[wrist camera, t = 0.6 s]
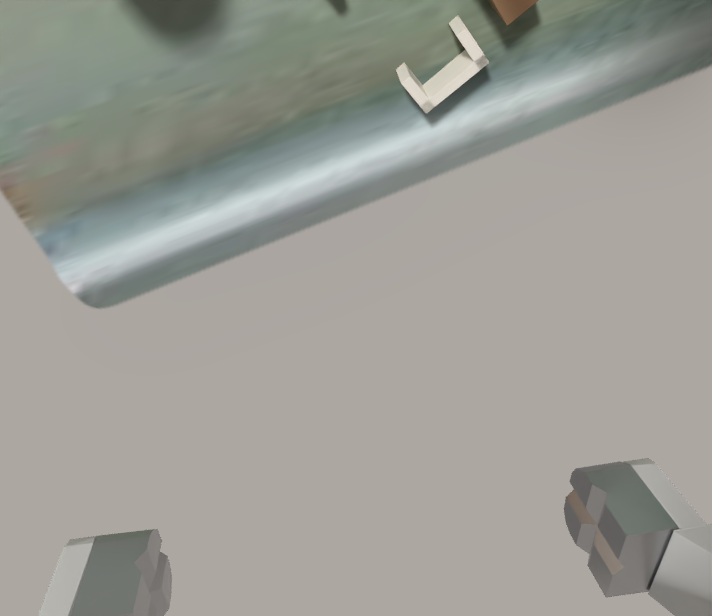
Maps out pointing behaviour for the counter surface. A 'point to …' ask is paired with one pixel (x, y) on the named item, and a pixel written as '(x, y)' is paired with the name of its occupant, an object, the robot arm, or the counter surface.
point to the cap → (445, 71)
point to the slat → (511, 8)
